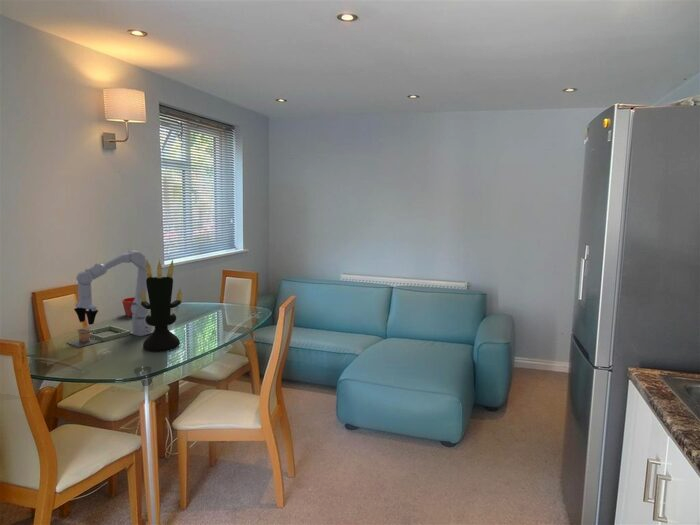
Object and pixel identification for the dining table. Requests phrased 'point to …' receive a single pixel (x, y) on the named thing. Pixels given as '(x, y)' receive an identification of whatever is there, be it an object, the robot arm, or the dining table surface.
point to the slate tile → (77, 344)
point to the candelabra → (160, 309)
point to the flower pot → (128, 305)
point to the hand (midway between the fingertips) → (86, 322)
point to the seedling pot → (84, 335)
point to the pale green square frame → (123, 333)
